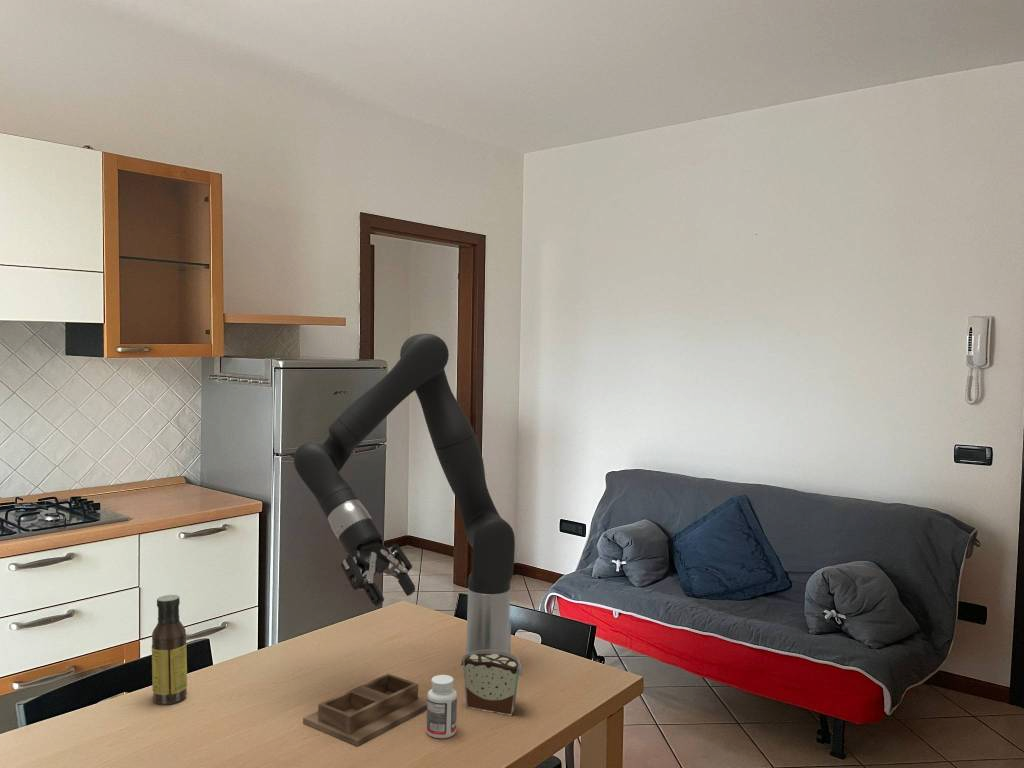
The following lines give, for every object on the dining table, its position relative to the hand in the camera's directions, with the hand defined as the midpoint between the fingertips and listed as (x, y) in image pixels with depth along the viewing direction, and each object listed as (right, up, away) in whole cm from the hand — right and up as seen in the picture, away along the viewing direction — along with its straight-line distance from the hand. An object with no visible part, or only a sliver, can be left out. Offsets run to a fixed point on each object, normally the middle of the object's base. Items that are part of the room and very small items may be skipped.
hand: (396, 598), depth 151 cm
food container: (+18, -23, +6) cm, 30 cm away
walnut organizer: (-5, -22, 0) cm, 23 cm away
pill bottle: (+9, -23, -6) cm, 25 cm away
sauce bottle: (-45, -21, +5) cm, 50 cm away
